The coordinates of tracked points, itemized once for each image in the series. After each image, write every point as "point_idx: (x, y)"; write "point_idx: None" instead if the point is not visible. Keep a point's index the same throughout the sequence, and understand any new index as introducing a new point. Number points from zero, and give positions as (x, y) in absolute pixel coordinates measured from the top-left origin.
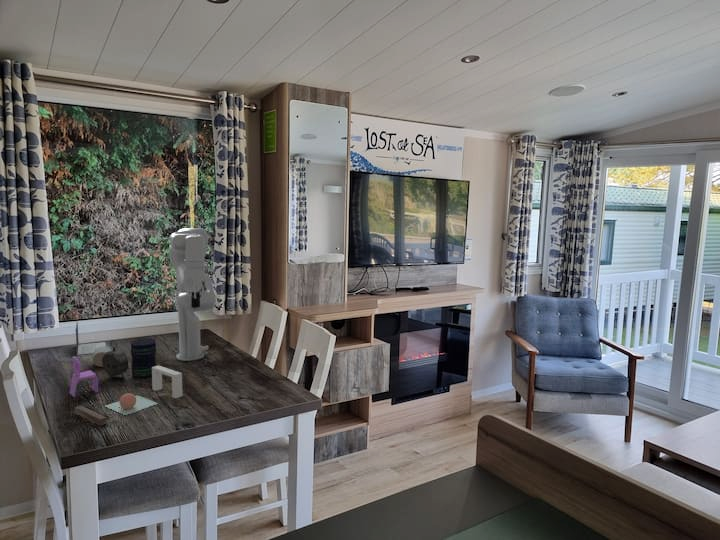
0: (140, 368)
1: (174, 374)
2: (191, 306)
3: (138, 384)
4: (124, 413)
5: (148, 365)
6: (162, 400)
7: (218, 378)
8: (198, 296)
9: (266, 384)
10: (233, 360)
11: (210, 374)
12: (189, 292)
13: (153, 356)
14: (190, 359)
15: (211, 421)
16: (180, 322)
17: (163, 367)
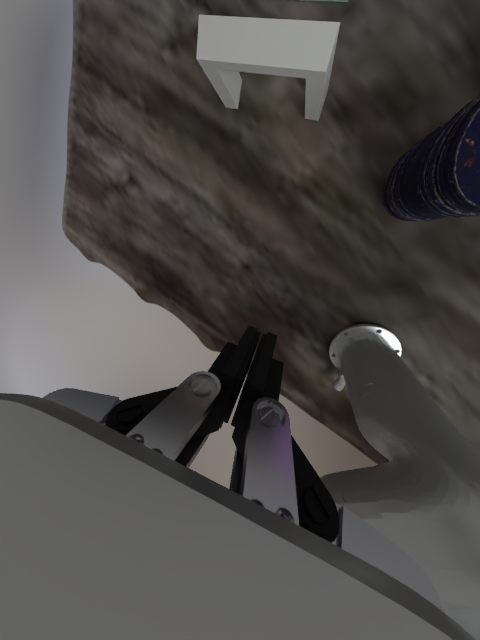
0: (442, 125)
1: (206, 20)
2: (275, 337)
3: (403, 100)
4: None
5: (415, 152)
6: None
7: (227, 254)
8: (157, 397)
9: (145, 262)
10: None
11: (255, 268)
12: (317, 511)
13: (417, 174)
14: (346, 329)
15: (82, 13)
16: (432, 407)
17: (291, 63)
